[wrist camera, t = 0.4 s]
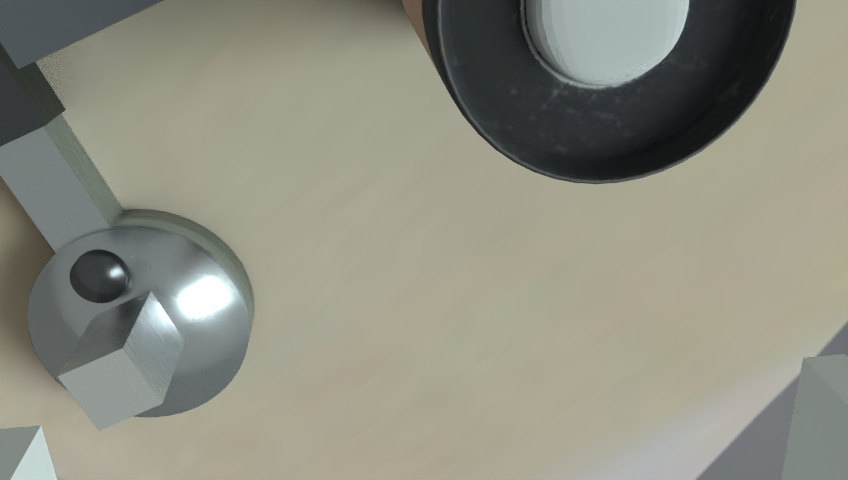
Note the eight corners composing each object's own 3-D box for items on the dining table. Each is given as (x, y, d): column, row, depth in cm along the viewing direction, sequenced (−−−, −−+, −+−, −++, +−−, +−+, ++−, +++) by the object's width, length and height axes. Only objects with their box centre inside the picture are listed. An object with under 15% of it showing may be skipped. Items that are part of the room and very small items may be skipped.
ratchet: (-243, -69, 31) (-409, -58, 25) (-25, -181, 30) (-133, -202, 24) (118, 415, 42) (73, 518, 35) (289, 342, 41) (277, 433, 34)
